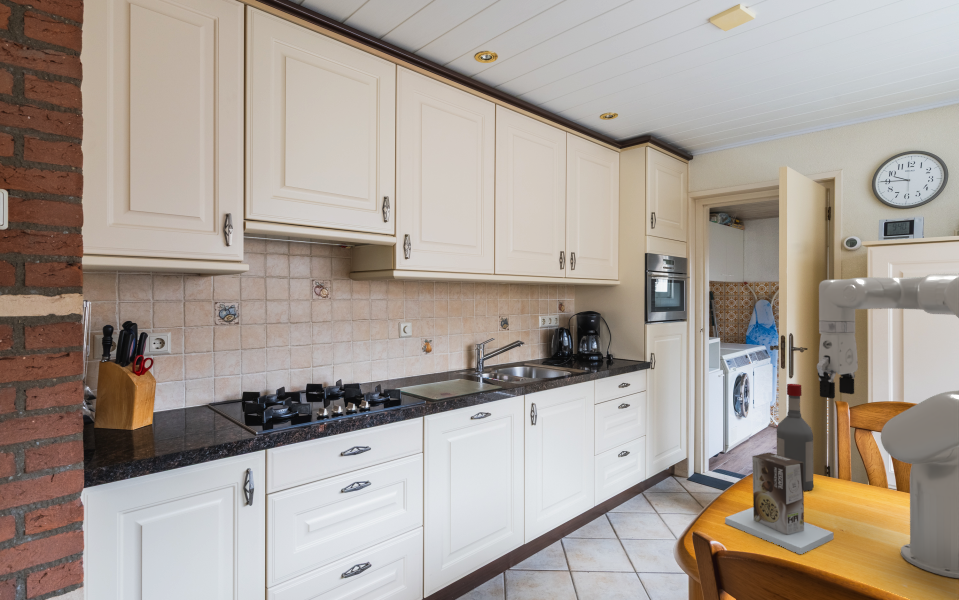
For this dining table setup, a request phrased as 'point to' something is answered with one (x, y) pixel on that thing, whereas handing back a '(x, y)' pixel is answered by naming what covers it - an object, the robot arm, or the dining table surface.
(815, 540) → the chopping board
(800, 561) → the dining table surface
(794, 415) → the liquor
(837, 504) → the dining table surface
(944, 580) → the dining table surface
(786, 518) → the coffee box
